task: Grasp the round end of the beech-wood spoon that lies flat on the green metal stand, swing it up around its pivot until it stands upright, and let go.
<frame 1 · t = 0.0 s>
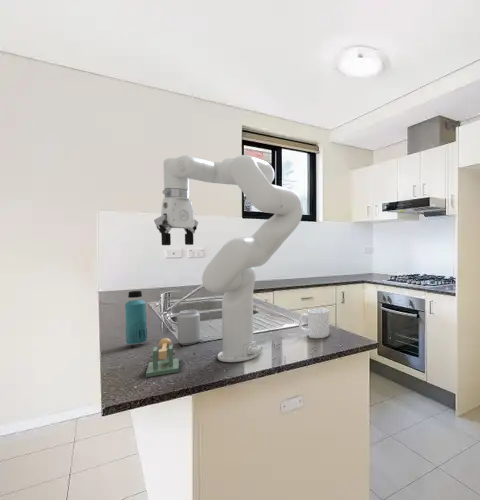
hand: (178, 244, 122), 37 cm above the countertop, tool pointing down, fingers open, 9 cm apart
can: (189, 343, 132), on the countertop
beverage bottle: (136, 345, 129), on the countertop
spoon: (164, 348, 111), point 5 cm above the countertop, hinge at 0.0°
spoon stand: (163, 369, 105), on the countertop
cup: (314, 336, 141), on the countertop
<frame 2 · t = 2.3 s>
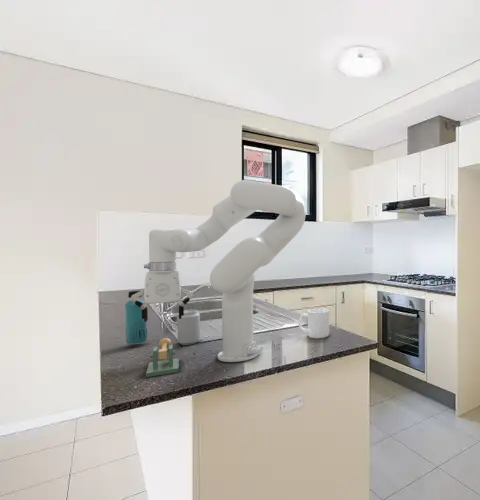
hand: (163, 319, 116), 13 cm above the countertop, tool pointing down, fingers open, 9 cm apart
nothing on the countertop moved.
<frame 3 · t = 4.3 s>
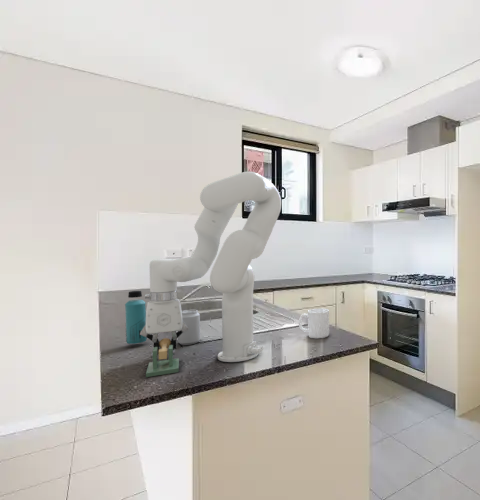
hand: (165, 351, 116), 2 cm above the countertop, tool pointing down, fingers closed on spoon, 3 cm apart
spoon: (164, 348, 111), point 5 cm above the countertop, hinge at 0.0°, touching gripper
everything else where it was.
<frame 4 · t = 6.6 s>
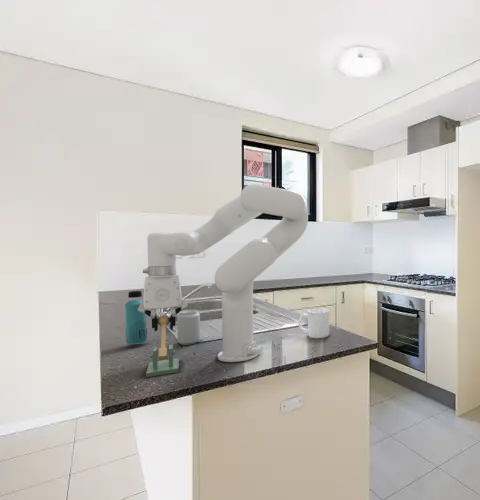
hand: (164, 328, 112), 10 cm above the countertop, tool pointing down, fingers closed on spoon, 3 cm apart
spoon: (163, 336, 109), point 9 cm above the countertop, hinge at 43.7°, touching gripper
everything else where it was.
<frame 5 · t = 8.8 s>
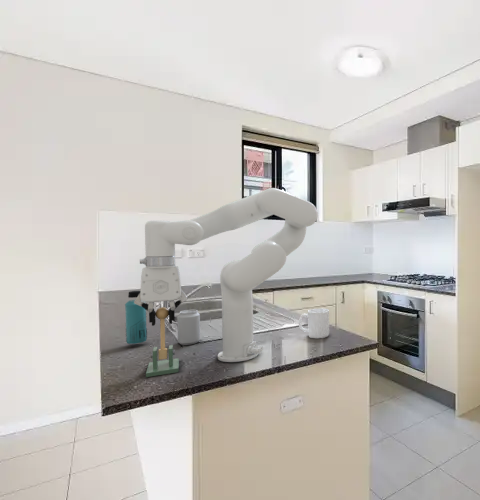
hand: (162, 323, 105), 14 cm above the countertop, tool pointing down, fingers closed on spoon, 3 cm apart
spoon: (162, 332, 106), point 11 cm above the countertop, hinge at 83.2°, touching gripper
everything else where it was.
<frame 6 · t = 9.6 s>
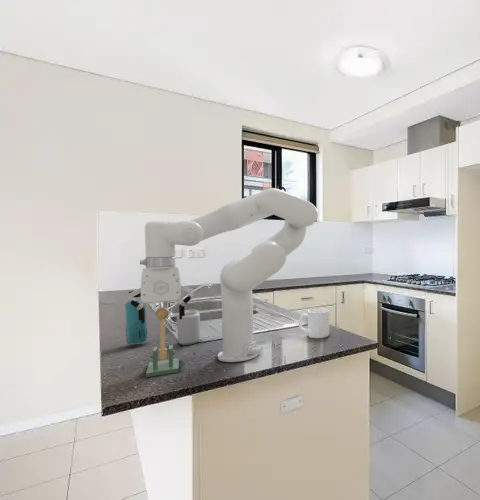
hand: (162, 320, 105), 15 cm above the countertop, tool pointing down, fingers open, 9 cm apart
spoon: (162, 332, 106), point 11 cm above the countertop, hinge at 83.2°
everything else where it was.
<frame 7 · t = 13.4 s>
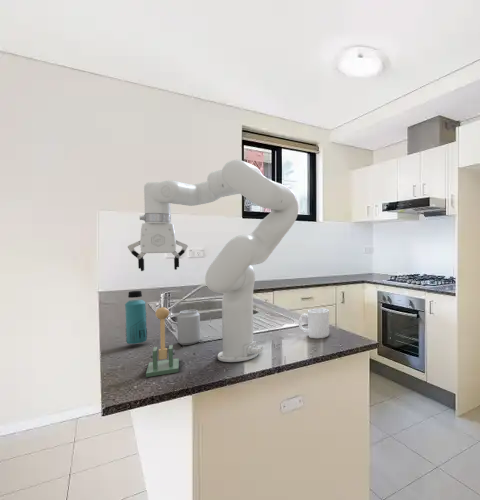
hand: (159, 270, 120), 28 cm above the countertop, tool pointing down, fingers open, 9 cm apart
nothing on the countertop moved.
at the end: spoon at +83° (first picture: +0°); the gripper is holding nothing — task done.
